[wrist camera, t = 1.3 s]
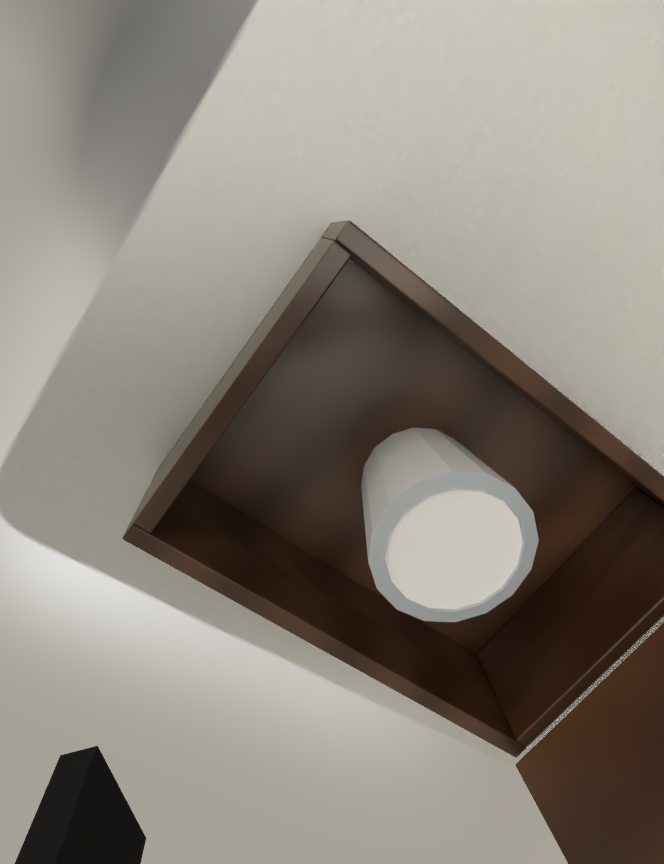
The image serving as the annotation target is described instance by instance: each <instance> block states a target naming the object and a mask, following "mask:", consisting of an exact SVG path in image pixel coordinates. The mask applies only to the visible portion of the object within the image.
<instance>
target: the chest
mask: <svg viewBox="0 0 664 864" xmlns="http://www.w3.org/2000/svg"><path fill="white" fill-rule="evenodd" d="M410 428H428V429H436V430H438V431H440V432H442V433H444V434H446V435H448V436H450V437H452V438H454V439H455V440H456V441H457V442H459V443H460V444H461V445H462V446H464V447H465V448H466V449H467V450H469V451H470V452H471V453H472V454H474V455H475V456H476V457H477V458H479V459H480V460H481V461H482V462H483V463H485V464H486V465H487V466H488V467H490V468H491V469H492V470H493V471H495V472H496V473H497V474H498V475H500V476H501V477H502V478H503V479H505V480H506V481H507V482H508V483H509V484H511V485H512V486H513V487H514V488H516V490H517V491H518V492H519V494H520V495H521V496H522V498H523V499H524V500H525V502H526V503H527V504H528V505H529V507H530V508H531V509H532V511H533V513H534V518H535V523H536V528H537V534H538V539H539V541H538V545H537V549H536V553H535V557H534V561H533V565H532V569H531V571H530V572H529V573H528V575H527V576H526V577H525V579H524V580H523V582H522V583H521V584H520V586H519V587H518V588H517V590H516V591H515V593H514V594H513V595H512V596H510V597H509V598H507V599H506V600H505V601H503V602H502V603H500V604H499V605H497V606H496V607H494V608H493V609H492V610H490V611H489V612H487V613H485V614H481V615H478V616H475V617H471V618H468V619H465V620H461V621H458V622H436V621H423V620H420V619H418V618H416V617H413V616H411V615H409V614H406V613H404V612H401V611H399V610H397V609H396V608H395V607H394V606H393V605H392V604H391V603H390V602H389V601H388V600H387V599H386V598H385V597H384V596H383V595H382V594H381V593H380V592H379V590H378V589H377V588H376V585H375V581H374V578H373V575H372V572H371V569H370V566H369V562H368V554H367V544H366V533H365V522H364V511H363V501H362V490H361V483H362V476H363V468H364V465H365V463H366V461H367V460H368V458H369V456H370V455H371V453H372V451H373V450H374V448H375V447H376V446H377V445H379V444H380V443H381V442H383V441H384V440H385V439H386V438H388V437H389V436H390V435H392V434H394V433H397V432H400V431H404V430H407V429H410ZM123 540H125V541H127V542H129V543H131V544H132V545H134V546H136V547H138V548H140V549H141V550H143V551H145V552H147V553H149V554H151V555H152V556H154V557H156V558H158V559H160V560H161V561H163V562H165V563H167V564H169V565H170V566H172V567H174V568H176V569H178V570H179V571H181V572H183V573H185V574H187V575H188V576H190V577H192V578H194V579H196V580H197V581H199V582H201V583H203V584H205V585H206V586H208V587H210V588H212V589H214V590H215V591H217V592H219V593H221V594H223V595H224V596H226V597H228V598H230V599H232V600H233V601H235V602H237V603H239V604H241V605H242V606H244V607H246V608H248V609H250V610H251V611H253V612H255V613H257V614H259V615H260V616H262V617H264V618H266V619H268V620H269V621H271V622H273V623H275V624H277V625H278V626H280V627H282V628H284V629H286V630H287V631H289V632H291V633H293V634H295V635H296V636H298V637H300V638H302V639H304V640H305V641H307V642H309V643H311V644H313V645H314V646H316V647H318V648H320V649H322V650H323V651H325V652H327V653H329V654H331V655H332V656H334V657H336V658H338V659H340V660H341V661H343V662H345V663H347V664H349V665H350V666H352V667H354V668H356V669H358V670H359V671H361V672H363V673H365V674H367V675H368V676H370V677H372V678H374V679H376V680H377V681H379V682H381V683H383V684H385V685H386V686H388V687H390V688H392V689H394V690H395V691H397V692H399V693H401V694H403V695H404V696H406V697H408V698H410V699H412V700H413V701H415V702H417V703H419V704H421V705H422V706H424V707H426V708H428V709H430V710H431V711H433V712H435V713H437V714H439V715H440V716H442V717H444V718H446V719H448V720H449V721H451V722H453V723H455V724H457V725H458V726H460V727H462V728H464V729H466V730H467V731H469V732H471V733H473V734H475V735H476V736H478V737H480V738H482V739H484V740H485V741H487V742H489V743H491V744H493V745H494V746H496V747H498V748H500V749H502V750H504V751H505V752H507V753H509V754H511V755H513V756H514V757H517V756H519V755H520V754H521V753H522V752H523V751H524V750H525V749H526V746H529V745H530V744H531V743H532V742H533V741H534V740H535V739H536V738H537V737H538V736H539V735H540V734H541V733H542V732H543V731H544V730H545V729H546V728H547V727H548V726H549V725H550V724H551V723H553V722H554V721H555V720H556V719H557V718H558V717H559V716H560V715H561V714H562V713H563V712H564V711H565V710H566V709H567V708H568V707H569V706H570V705H571V704H572V703H573V702H574V701H575V700H576V699H577V698H579V697H580V696H581V695H582V694H583V693H584V692H585V691H586V690H587V689H588V688H589V687H590V686H591V685H592V684H593V683H594V682H595V681H596V680H597V679H598V678H599V677H600V676H601V675H602V674H604V673H605V672H606V671H607V670H608V669H609V668H610V667H611V666H612V665H613V664H614V663H615V662H616V661H617V660H618V659H619V658H620V657H621V656H622V655H623V654H624V653H625V652H626V651H627V650H628V649H630V648H631V647H632V646H633V645H634V644H635V643H636V642H637V641H638V640H639V639H640V638H641V637H642V636H643V635H644V634H645V633H646V632H647V631H648V630H649V629H650V628H651V627H652V626H653V625H655V624H656V623H657V622H658V621H659V620H660V619H661V618H662V617H663V616H664V476H663V475H661V474H660V473H659V472H658V471H657V470H655V469H654V468H653V467H652V466H650V465H649V464H648V463H647V462H646V461H644V460H643V459H642V458H641V457H639V456H638V455H637V454H636V453H634V452H633V451H632V450H631V449H630V448H628V447H627V446H626V445H625V444H623V443H622V442H621V441H620V440H619V439H617V438H616V437H615V436H614V435H612V434H611V433H610V432H609V431H607V430H606V429H605V428H604V427H603V426H601V425H600V424H599V423H598V422H596V421H595V420H594V419H593V418H592V417H590V416H589V415H588V414H587V413H585V412H584V411H583V410H582V409H580V408H579V407H578V406H577V405H576V404H574V403H573V402H572V401H571V400H569V399H568V398H567V397H566V396H565V395H563V394H562V393H561V392H560V391H558V390H557V389H556V388H555V387H553V386H552V385H551V384H550V383H549V382H547V381H546V380H545V379H544V378H542V377H541V376H540V375H539V374H538V373H536V372H535V371H534V370H533V369H531V368H530V367H529V366H528V365H526V364H525V363H524V362H523V361H522V360H520V359H519V358H518V357H517V356H515V355H514V354H513V353H512V352H511V351H509V350H508V349H507V348H506V347H504V346H503V345H502V344H501V343H499V342H498V341H497V340H496V339H495V338H493V337H492V336H491V335H490V334H488V333H487V332H486V331H485V330H484V329H482V328H481V327H480V326H479V325H477V324H476V323H475V322H474V321H473V320H471V319H470V318H469V317H468V316H466V315H465V314H464V313H463V312H461V311H460V310H459V309H458V308H457V307H455V306H454V305H453V304H452V303H450V302H449V301H448V300H447V299H446V298H444V297H443V296H442V295H441V294H439V293H438V292H437V291H436V290H434V289H433V288H432V287H431V286H430V285H428V284H427V283H426V282H425V281H423V280H422V279H421V278H420V277H419V276H417V275H416V274H415V273H414V272H412V271H411V270H410V269H409V268H407V267H406V266H405V265H404V264H403V263H401V262H400V261H399V260H398V259H396V258H395V257H394V256H393V255H392V254H390V253H389V252H388V251H387V250H385V249H384V248H383V247H382V246H380V245H379V244H378V243H377V242H376V241H374V240H373V239H372V238H371V237H369V236H368V235H367V234H366V233H365V232H363V231H362V230H361V229H360V228H358V227H357V226H356V225H355V224H353V223H352V222H351V221H342V222H334V223H331V224H330V226H329V227H328V228H327V230H326V231H325V233H324V234H323V236H322V237H321V238H320V240H319V241H318V243H317V244H316V245H315V247H314V248H313V250H312V251H311V253H310V254H309V255H308V257H307V258H306V260H305V261H304V262H303V264H302V265H301V267H300V268H299V270H298V271H297V272H296V274H295V275H294V277H293V278H292V280H291V281H290V282H289V284H288V285H287V287H286V288H285V289H284V291H283V292H282V294H281V295H280V297H279V298H278V299H277V301H276V302H275V304H274V305H273V306H272V308H271V309H270V311H269V312H268V314H267V315H266V316H265V318H264V319H263V321H262V322H261V323H260V325H259V326H258V328H257V329H256V331H255V332H254V333H253V335H252V336H251V338H250V339H249V340H248V342H247V343H246V345H245V346H244V348H243V349H242V350H241V352H240V353H239V355H238V356H237V358H236V359H235V360H234V362H233V363H232V365H231V366H230V367H229V369H228V370H227V372H226V373H225V375H224V376H223V377H222V379H221V380H220V382H219V383H218V384H217V386H216V387H215V389H214V390H213V392H212V393H211V394H210V396H209V397H208V399H207V400H206V401H205V403H204V404H203V406H202V407H201V409H200V410H199V411H198V413H197V414H196V416H195V417H194V418H193V420H192V421H191V423H190V424H189V426H188V427H187V428H186V430H185V431H184V433H183V434H182V436H181V437H180V438H179V440H178V441H177V443H176V444H175V445H174V447H173V448H172V450H171V451H170V453H169V454H168V455H167V457H166V458H165V460H164V461H163V462H162V464H161V465H160V467H159V468H158V470H157V472H156V474H155V476H154V477H153V479H152V481H151V483H150V485H149V487H148V489H147V491H146V493H145V495H144V497H143V499H142V501H141V503H140V504H139V506H138V508H137V510H136V512H135V514H134V516H133V518H132V520H131V522H130V524H129V526H128V528H127V530H126V532H125V534H124V536H123Z"/></svg>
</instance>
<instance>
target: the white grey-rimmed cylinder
mask: <svg viewBox="0 0 664 864" xmlns="http://www.w3.org/2000/svg"><path fill="white" fill-rule="evenodd" d="M361 490H362V501H363V511H364V522H365V533H366V544H367V554H368V562H369V566H370V569H371V572H372V575H373V578H374V581H375V585H376V588H377V589H378V590H379V592H380V593H381V594H382V595H383V596H384V597H385V598H386V599H387V600H388V601H389V602H390V603H391V604H392V605H393V606H394V607H395V608H396V609H397V610H399V611H401V612H404V613H406V614H409V615H411V616H413V617H416V618H418V619H420V620H423V621H436V622H458V621H461V620H465V619H468V618H471V617H475V616H478V615H481V614H485V613H487V612H489V611H490V610H492V609H493V608H494V607H496V606H497V605H499V604H500V603H502V602H503V601H505V600H506V599H507V598H509V597H510V596H512V595H513V594H514V593H515V591H516V590H517V588H518V587H519V586H520V584H521V583H522V582H523V580H524V579H525V577H526V576H527V575H528V573H529V572H530V571H531V569H532V565H533V561H534V557H535V553H536V549H537V545H538V541H539V539H538V534H537V528H536V523H535V518H534V513H533V511H532V509H531V508H530V507H529V505H528V504H527V503H526V502H525V500H524V499H523V498H522V496H521V495H520V494H519V492H518V491H517V490H516V488H514V487H513V486H512V485H511V484H509V483H508V482H507V481H506V480H505V479H503V478H502V477H501V476H500V475H498V474H497V473H496V472H495V471H493V470H492V469H491V468H490V467H488V466H487V465H486V464H485V463H483V462H482V461H481V460H480V459H479V458H477V457H476V456H475V455H474V454H472V453H471V452H470V451H469V450H467V449H466V448H465V447H464V446H462V445H461V444H460V443H459V442H457V441H456V440H455V439H454V438H452V437H450V436H448V435H446V434H444V433H442V432H440V431H438V430H436V429H428V428H410V429H407V430H404V431H400V432H397V433H394V434H392V435H390V436H389V437H388V438H386V439H385V440H384V441H383V442H381V443H380V444H379V445H377V446H376V447H375V448H374V450H373V451H372V453H371V455H370V456H369V458H368V460H367V461H366V463H365V465H364V468H363V476H362V483H361Z"/></svg>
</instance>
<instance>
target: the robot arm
mask: <svg viewBox="0 0 664 864" xmlns="http://www.w3.org/2000/svg"><path fill="white" fill-rule="evenodd" d="M145 840H146V837H145V835H144V833H143V831H142V830H141V828H140V826H139V824H138V822H137V820H136V818H135V816H134V814H133V812H132V811H131V809H130V807H129V805H128V803H127V801H126V799H125V798H124V795H123V793H122V792H121V790H120V788H119V786H118V784H117V782H116V780H115V778H114V776H113V774H112V773H111V771H110V769H109V767H108V765H107V763H106V761H105V759H104V757H103V755H102V754H101V752H100V750H99V748H98V746H96V747H92V748H88V749H84V750H80V751H76V752H72V753H69V754H65V755H61V756H60V758H59V760H58V763H57V765H56V767H55V770H54V772H53V775H52V777H51V779H50V782H49V784H48V786H47V789H46V791H45V793H44V796H43V798H42V800H41V803H40V805H39V808H38V810H37V813H36V815H35V817H34V819H33V822H32V824H31V827H30V829H29V831H28V834H27V836H26V839H25V841H24V843H23V846H22V848H21V850H20V853H19V855H18V858H17V860H16V862H15V864H140V863H141V858H142V854H143V849H144V845H145Z"/></svg>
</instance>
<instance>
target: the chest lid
mask: <svg viewBox="0 0 664 864" xmlns="http://www.w3.org/2000/svg"><path fill="white" fill-rule="evenodd" d="M516 767H517V769H518V771H519V772H520V774H521V776H522V778H523V780H524V782H525V784H526V785H527V787H528V789H529V791H530V793H531V794H532V797H533V799H534V800H535V802H536V804H537V806H538V808H539V810H540V811H541V813H542V815H543V817H544V819H545V821H546V823H547V825H548V827H549V828H550V830H551V832H552V834H553V836H554V838H555V840H556V841H557V843H558V845H559V847H560V849H561V851H562V853H563V854H564V856H565V858H566V860H567V862H568V864H664V623H663V624H662V625H661V626H660V627H659V628H658V629H657V630H656V631H655V632H654V633H653V634H652V635H651V636H649V637H648V638H647V639H646V640H645V641H644V642H643V643H642V644H641V645H640V646H639V647H638V648H637V649H636V650H635V651H634V652H633V653H632V654H631V655H630V656H629V657H628V658H626V659H625V660H624V661H623V662H622V663H621V664H620V665H619V666H618V667H617V668H616V669H615V670H614V671H613V672H612V673H611V674H610V675H609V676H608V677H607V678H606V679H605V680H603V681H602V682H601V683H600V684H599V685H598V686H597V687H596V688H595V689H594V690H593V691H592V692H591V693H590V694H589V695H588V696H587V697H586V698H585V699H584V700H583V701H582V702H581V703H579V704H578V705H577V706H576V707H575V708H574V709H573V710H572V711H571V712H570V713H569V714H568V715H567V716H566V717H565V718H564V719H563V720H562V721H561V722H560V723H559V724H558V725H556V726H555V727H554V728H553V729H552V730H551V731H550V732H549V733H548V734H547V735H546V736H545V737H544V738H543V739H542V740H541V741H540V742H539V743H538V744H537V745H536V746H535V747H533V748H532V749H531V750H530V751H529V752H528V753H527V754H526V755H525V756H524V757H523V758H522V759H521V760H520V761H519V762H518V763H517V764H516Z"/></svg>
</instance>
